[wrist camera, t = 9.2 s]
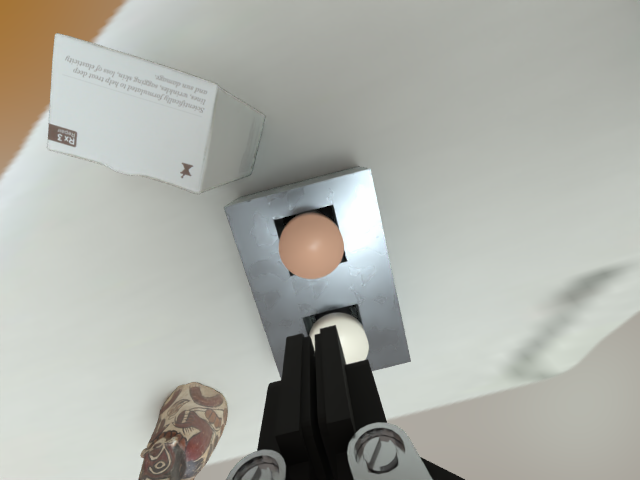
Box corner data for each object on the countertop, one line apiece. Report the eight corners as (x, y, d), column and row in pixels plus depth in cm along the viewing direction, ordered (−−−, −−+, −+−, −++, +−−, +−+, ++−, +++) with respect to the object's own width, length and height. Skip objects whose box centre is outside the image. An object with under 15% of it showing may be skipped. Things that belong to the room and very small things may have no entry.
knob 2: (349, 280, 34) (361, 315, 27) (360, 322, 35) (374, 366, 28) (302, 292, 34) (302, 329, 27) (314, 334, 35) (317, 380, 28)
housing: (358, 166, 32) (370, 168, 26) (394, 328, 36) (410, 361, 30) (238, 197, 32) (223, 207, 26) (288, 354, 36) (285, 392, 31)
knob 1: (328, 196, 32) (335, 208, 24) (340, 244, 33) (350, 270, 26) (278, 209, 32) (270, 225, 25) (292, 256, 33) (288, 285, 26)
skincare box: (266, 115, 30) (231, 79, 16) (251, 179, 32) (205, 199, 17) (174, 86, 29) (49, 20, 15) (162, 153, 31) (37, 151, 16)
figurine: (215, 375, 37) (174, 476, 25) (237, 425, 39) (208, 541, 27) (155, 392, 37) (87, 501, 25) (180, 441, 39) (126, 563, 27)
